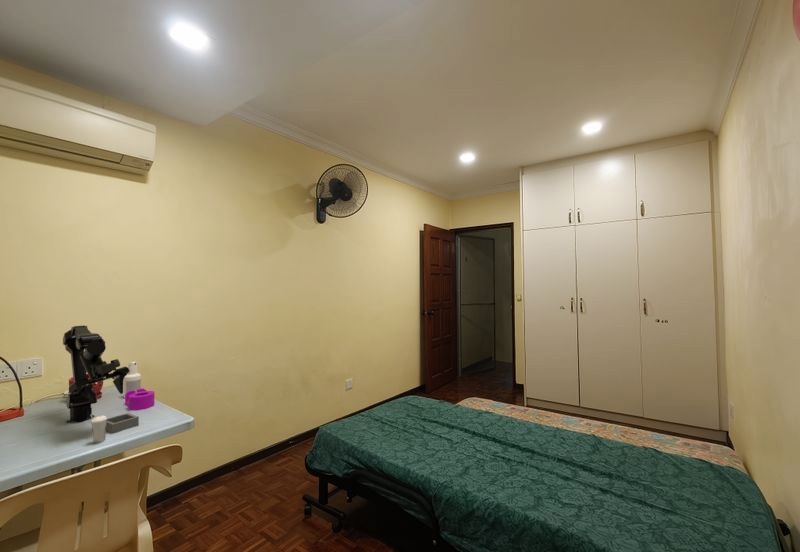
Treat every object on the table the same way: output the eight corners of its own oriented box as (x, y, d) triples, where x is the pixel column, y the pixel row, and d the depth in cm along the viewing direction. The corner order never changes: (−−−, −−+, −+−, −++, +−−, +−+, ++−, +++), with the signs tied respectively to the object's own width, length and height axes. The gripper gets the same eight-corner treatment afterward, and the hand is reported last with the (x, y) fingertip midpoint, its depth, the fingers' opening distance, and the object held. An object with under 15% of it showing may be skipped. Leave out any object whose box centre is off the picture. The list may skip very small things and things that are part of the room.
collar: (101, 429, 141) (101, 420, 141) (127, 421, 149) (127, 412, 149) (112, 433, 136) (112, 424, 136) (138, 425, 144) (138, 416, 144)
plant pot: (82, 395, 183) (82, 373, 183) (109, 394, 185) (109, 372, 185) (61, 404, 170) (61, 379, 170) (90, 403, 172) (90, 378, 172)
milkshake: (95, 438, 132) (95, 412, 132) (110, 438, 132) (110, 411, 132) (85, 444, 127) (85, 416, 127) (101, 443, 128) (101, 416, 128)
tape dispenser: (157, 406, 167) (157, 393, 167) (131, 412, 159) (131, 398, 159) (147, 399, 177) (147, 387, 177) (123, 404, 170) (123, 391, 170)
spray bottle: (131, 399, 177) (131, 363, 177) (120, 398, 178) (120, 363, 178) (143, 395, 183) (144, 361, 184) (133, 394, 185) (133, 360, 185)
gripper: (75, 361, 129) (92, 399, 127) (129, 348, 147) (144, 381, 145) (61, 374, 133) (77, 411, 131) (114, 360, 150) (130, 392, 148)
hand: (109, 398), depth 139 cm, fingers open, 9 cm apart
